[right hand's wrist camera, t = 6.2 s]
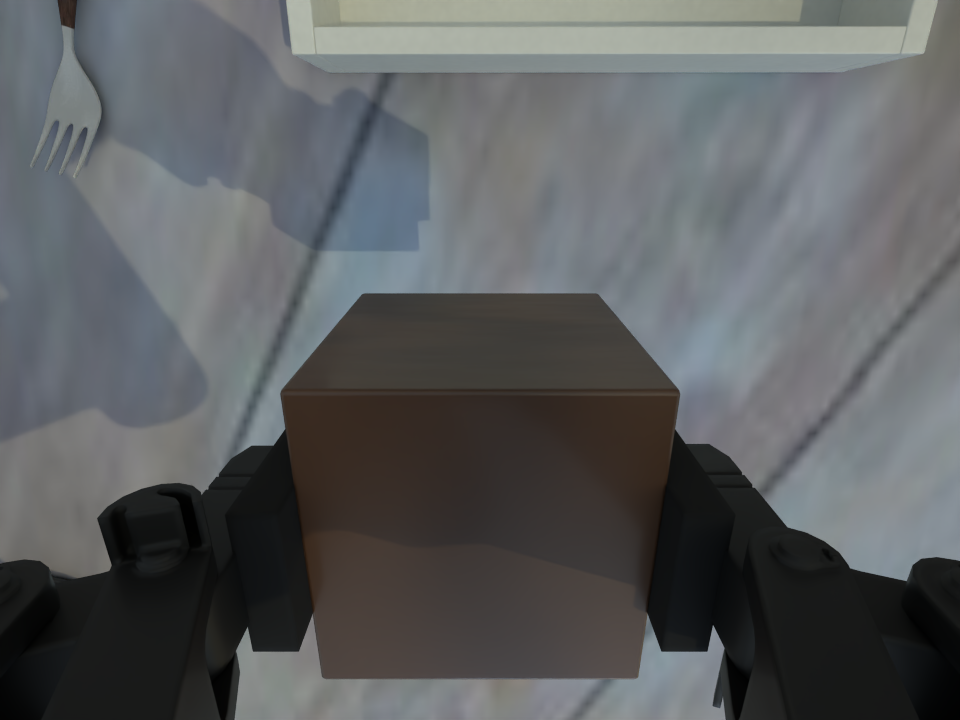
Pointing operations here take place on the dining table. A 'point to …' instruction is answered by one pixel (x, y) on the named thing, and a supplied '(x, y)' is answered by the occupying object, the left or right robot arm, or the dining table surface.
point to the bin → (606, 35)
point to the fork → (70, 98)
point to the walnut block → (480, 487)
